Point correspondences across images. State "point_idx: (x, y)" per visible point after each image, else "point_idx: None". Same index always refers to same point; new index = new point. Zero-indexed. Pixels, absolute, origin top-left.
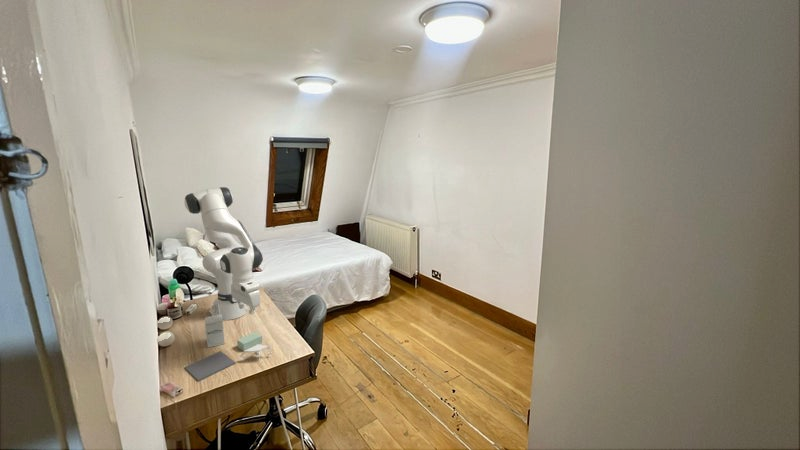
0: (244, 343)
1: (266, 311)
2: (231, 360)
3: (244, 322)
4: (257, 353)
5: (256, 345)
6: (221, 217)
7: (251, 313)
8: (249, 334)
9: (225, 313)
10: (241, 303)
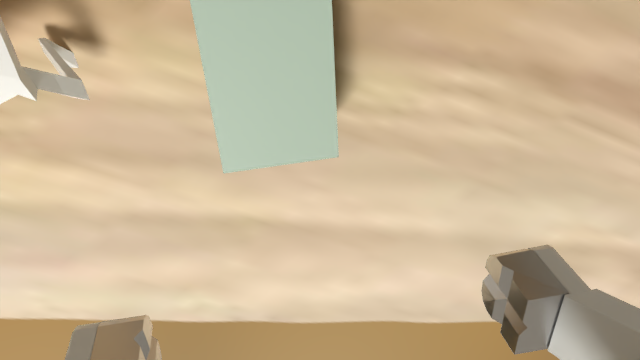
0: (194, 2)
1: None
2: None
3: (619, 151)
4: (39, 41)
5: (6, 70)
6: None
7: (74, 348)
8: (334, 106)
9: None
10: (571, 345)
